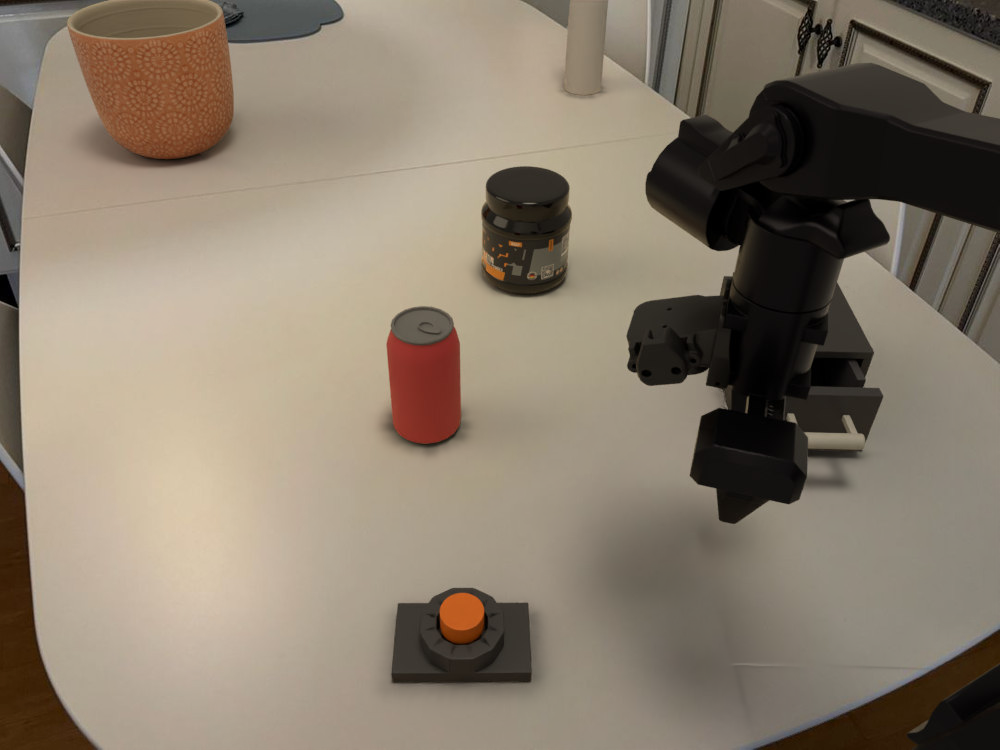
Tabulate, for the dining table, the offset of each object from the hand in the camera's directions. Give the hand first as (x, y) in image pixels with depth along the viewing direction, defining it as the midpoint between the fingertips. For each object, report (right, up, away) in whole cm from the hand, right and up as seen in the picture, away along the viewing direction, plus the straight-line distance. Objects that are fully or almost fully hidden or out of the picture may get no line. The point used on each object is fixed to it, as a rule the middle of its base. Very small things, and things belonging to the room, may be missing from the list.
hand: (733, 473), depth 60 cm
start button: (-19, -11, +2) cm, 22 cm away
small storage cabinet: (+12, +6, +29) cm, 32 cm away
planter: (-66, +43, +72) cm, 107 cm away
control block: (-19, -13, +4) cm, 24 cm away
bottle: (-2, +58, +93) cm, 109 cm away
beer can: (-23, +2, +23) cm, 33 cm away
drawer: (+12, +2, +23) cm, 26 cm away
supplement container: (-13, +19, +44) cm, 50 cm away
